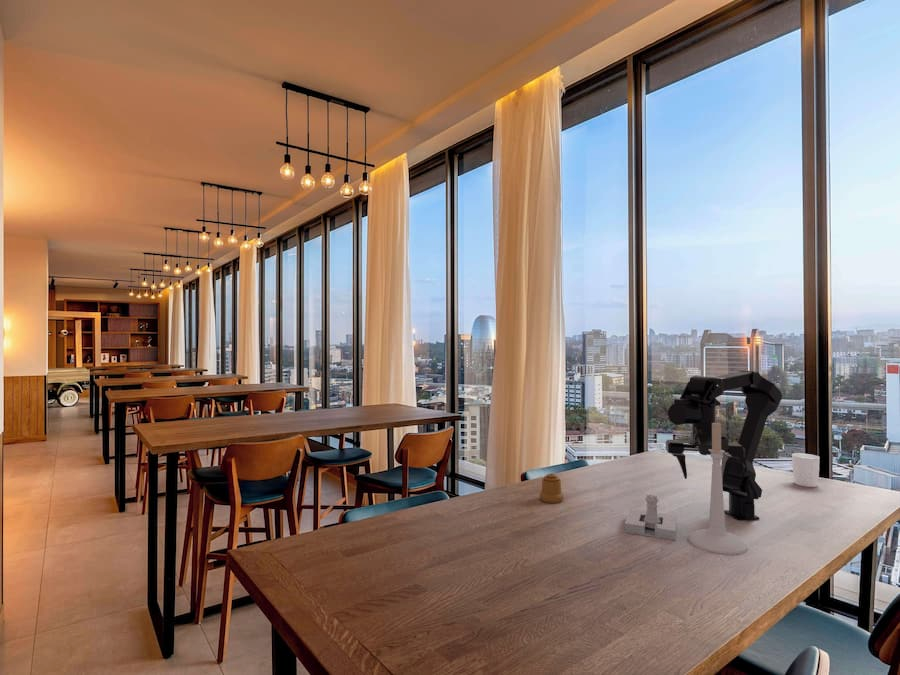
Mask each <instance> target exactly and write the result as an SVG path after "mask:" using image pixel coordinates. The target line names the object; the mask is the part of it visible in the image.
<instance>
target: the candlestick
mask: <svg viewBox="0 0 900 675" xmlns="http://www.w3.org/2000/svg"><path fill="white" fill-rule="evenodd" d="M721 436H722V424H721V423H720V422H719V423H718V422H717V421H716V423H712V449H709V451H710V452H711V455H710V458H711V459H712V464H711V479H710V480H711V483H710V504H709V505H710V507H709V519H708V520H709V522H708V525H709V526H708V528H702V529H701V528H700V529H697V530H694V531H692V532H690V533H689V534H688V537H687V538H688V539H687V540H688V541H689V543H692V544H691V545H693V546H694V545H695V546H694V547H696V546H697V548H698V547H699V548H698V549H700V548H701V550H703V551H706V552H709V551H710V553H714V554H719V555H726V556H727V555H728V556H729V555H730V556H732V555H733V556H735V555H742V554H745V553H747V552H748V549H749V546H748V544H747V543H746V542H745V541H744V540H743V539H742V538H741V537H739V536H738V535H735V534H734V533H731V532H728V531H727V530H726V518H725V517H726V516H725V512H724V510H725V506H724V505H725V504H724V491H723V486H722V470H721V467H722V458H723V456H722V454H723V453H724V452H725V451H724V450H721Z"/></svg>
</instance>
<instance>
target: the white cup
mask: <svg viewBox="0 0 900 675" xmlns="http://www.w3.org/2000/svg"><path fill="white" fill-rule="evenodd" d="M791 464H792V475H793V482H794V483H793V484H795V485H797V486H801V487H807V488H816V487H818V486H819V477H820V474H819V473H820V456H819V455H815V454H810V453H801V452H800V453H798V452H795V453H792V454H791Z"/></svg>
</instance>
